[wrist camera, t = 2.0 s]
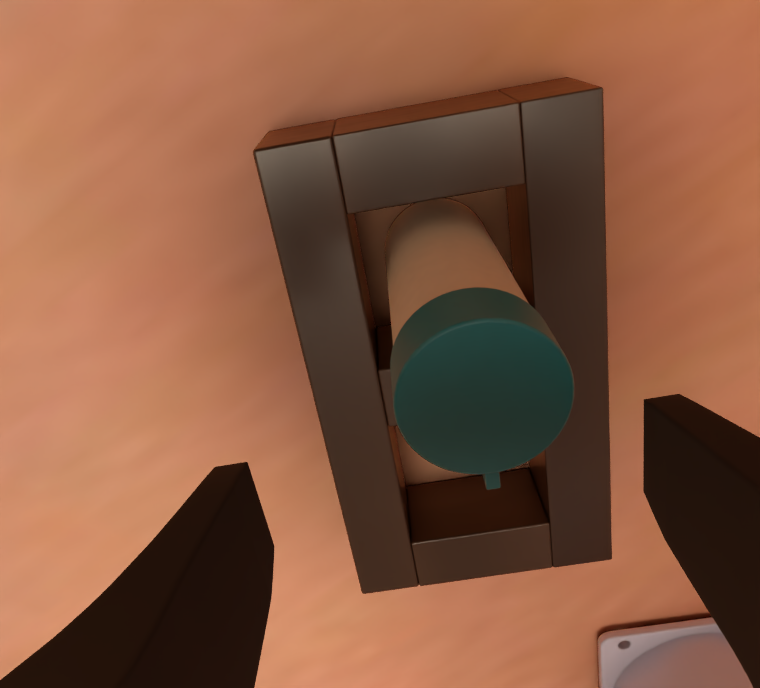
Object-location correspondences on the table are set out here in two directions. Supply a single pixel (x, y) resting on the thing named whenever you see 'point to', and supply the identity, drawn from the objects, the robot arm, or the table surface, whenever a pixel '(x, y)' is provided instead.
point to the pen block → (374, 345)
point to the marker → (468, 348)
